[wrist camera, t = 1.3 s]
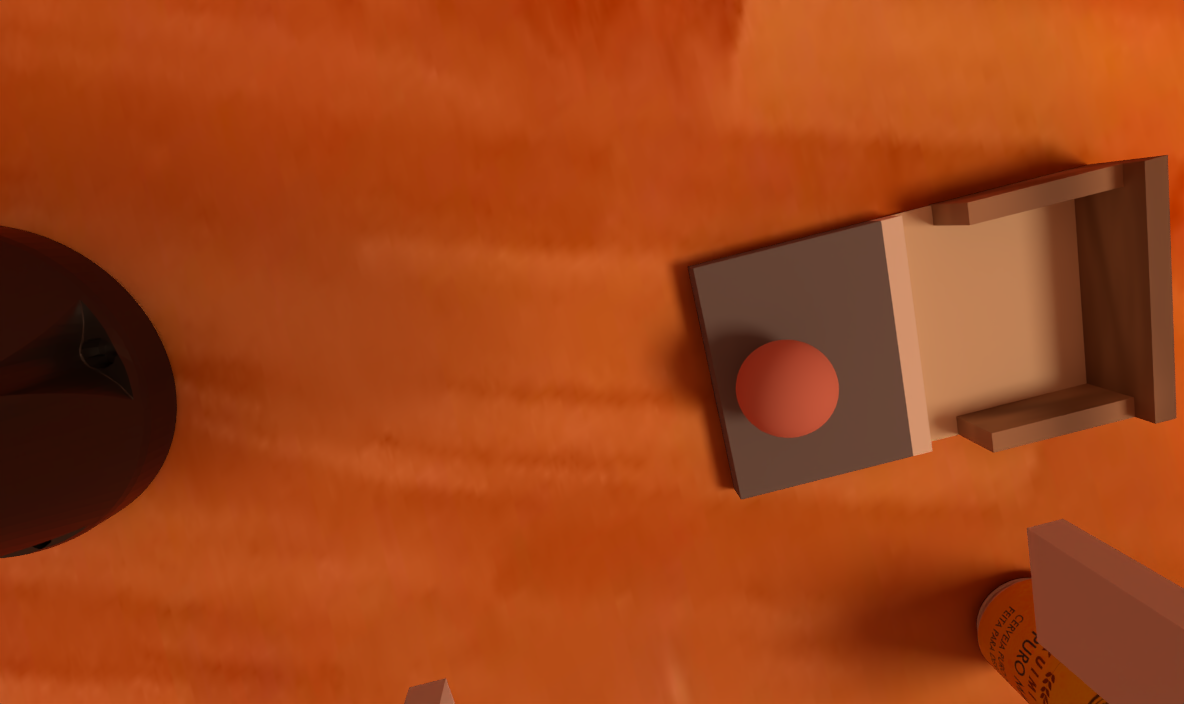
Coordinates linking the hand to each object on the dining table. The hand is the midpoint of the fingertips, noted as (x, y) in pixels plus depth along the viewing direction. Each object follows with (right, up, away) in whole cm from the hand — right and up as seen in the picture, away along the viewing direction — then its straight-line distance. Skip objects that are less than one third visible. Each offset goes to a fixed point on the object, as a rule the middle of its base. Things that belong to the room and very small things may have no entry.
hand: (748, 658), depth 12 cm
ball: (+6, +5, +14) cm, 16 cm away
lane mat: (+13, +7, +18) cm, 23 cm away
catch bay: (+18, +9, +18) cm, 27 cm away
